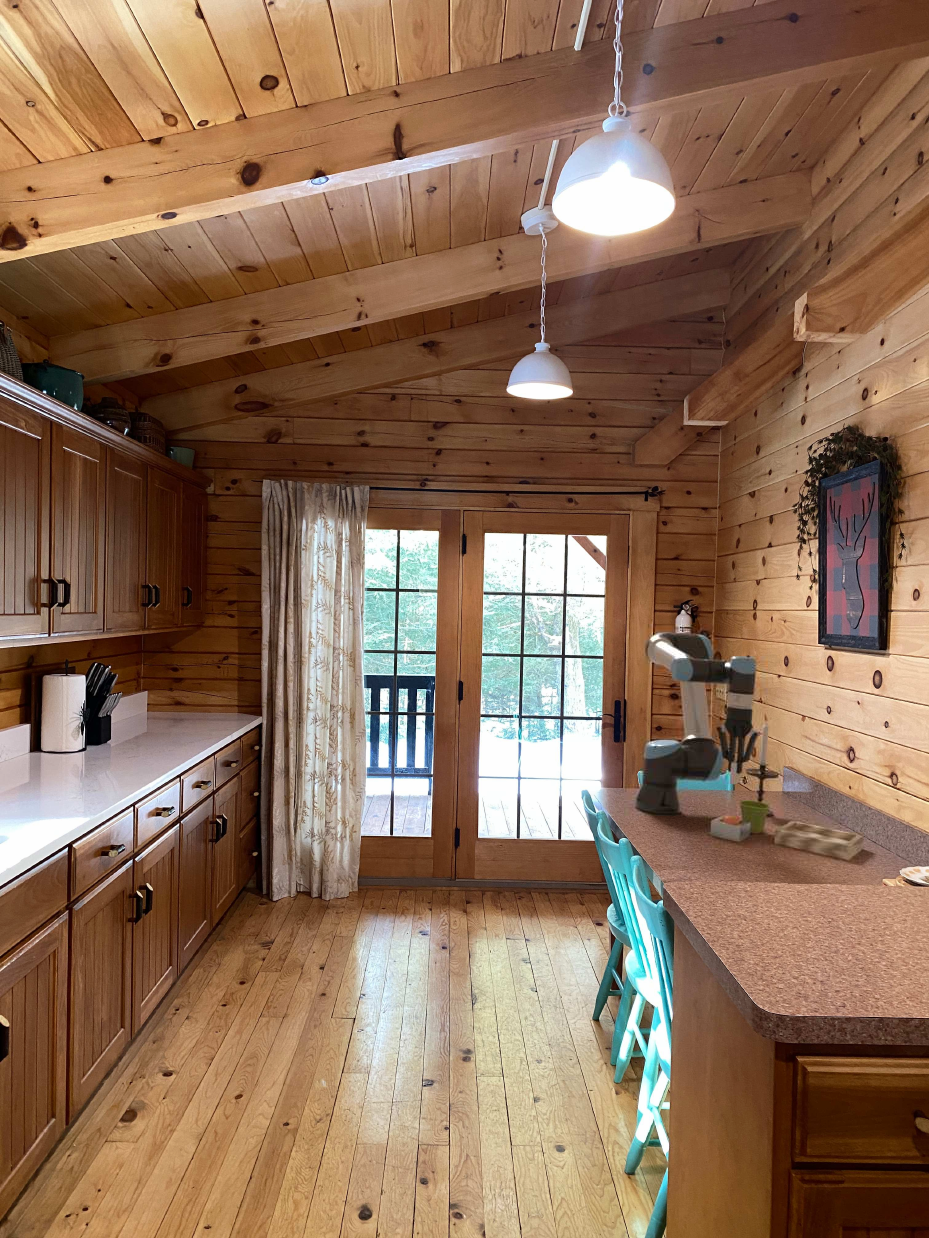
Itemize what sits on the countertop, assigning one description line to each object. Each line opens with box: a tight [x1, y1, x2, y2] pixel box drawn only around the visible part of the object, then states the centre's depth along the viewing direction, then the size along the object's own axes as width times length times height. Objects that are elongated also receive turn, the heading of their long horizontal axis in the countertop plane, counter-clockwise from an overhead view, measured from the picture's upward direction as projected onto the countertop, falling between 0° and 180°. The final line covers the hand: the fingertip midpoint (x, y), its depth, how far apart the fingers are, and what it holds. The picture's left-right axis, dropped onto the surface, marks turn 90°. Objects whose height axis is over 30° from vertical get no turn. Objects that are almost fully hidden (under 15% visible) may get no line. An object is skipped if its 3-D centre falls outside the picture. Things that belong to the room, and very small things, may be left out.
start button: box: [722, 814, 741, 825], centre depth 259 cm, size 5×5×3 cm
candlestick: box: [745, 713, 780, 818], centre depth 292 cm, size 11×11×35 cm
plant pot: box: [738, 800, 771, 835], centre depth 266 cm, size 9×9×9 cm
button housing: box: [709, 815, 751, 843], centre depth 259 cm, size 9×9×4 cm
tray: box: [774, 820, 864, 861], centre depth 254 cm, size 21×17×4 cm
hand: (733, 783), depth 258 cm, fingers closed
